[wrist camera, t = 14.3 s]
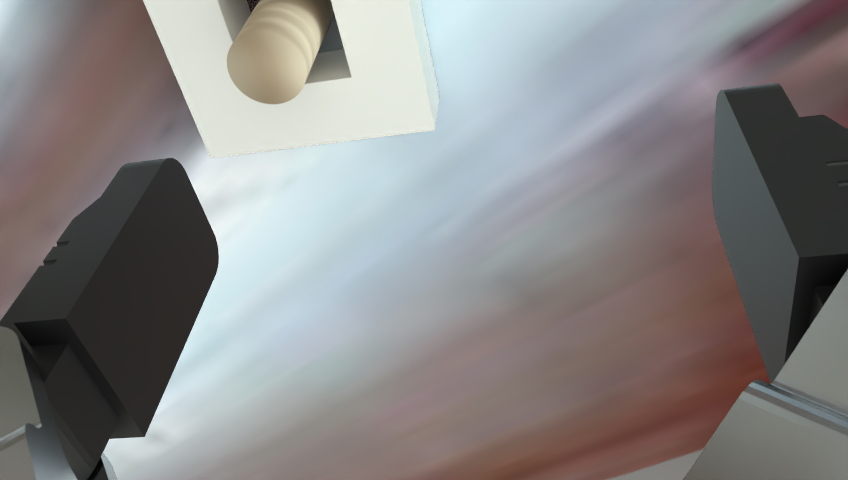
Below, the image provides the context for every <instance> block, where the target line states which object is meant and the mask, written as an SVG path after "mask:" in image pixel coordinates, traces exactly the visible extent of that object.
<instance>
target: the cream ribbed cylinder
mask: <svg viewBox="0 0 848 480" xmlns="http://www.w3.org/2000/svg"><path fill="white" fill-rule="evenodd" d="M332 15H333V7H332V3H331V0H259V2H258V3H257V5H256V7H255V8H254V10H253V11H252V13H251V15H250V16H249V18H248V19H247V21H246V23H245V24H244V26H243V27H242V29H241V31H240V32H239V34H238V35H237V37H236V39H235V40H234V42H233V43H232V45H231V47H230V49H229V51H228V54H227V69H228V73H229V75H230V78H231V80H232V81H233V83H234V84H235V86H236V87H237V88H238V89H239V90H240V91H241V92H242V93H243V94H244V95H246V96H247V97H249V98H251V99H253V100H255V101H257V102H260V103H264V104H281V103H285V102H288V101H290V100H292V99H293V98H295V97H296V96H297V95H298V94H299V93H300V91H301V90H302V88H303V86H304V84H305V81H306V79H307V77H308V74H309V72H310V70H311V67H312V65H313V62H314V60H315V58H316V55H317V53H318V50H319V48H320V46H321V43H322V41H323V39H324V36H325V34H326V31H327V29H328V27H329V24H330V22H331V19H332Z"/></svg>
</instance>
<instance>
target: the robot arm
mask: <svg viewBox="0 0 848 480" xmlns="http://www.w3.org/2000/svg"><path fill="white" fill-rule="evenodd" d="M712 196H713V207H714V214H715V219H716V224H717V227H718V231H719V233H720V236H721V239H722V242H723V245H724V248H725V251H726V254H727V257H728V260H729V263H730V266H731V269H732V271H733V274H734V277H735V280H736V283H737V286H738V289H739V292H740V295H741V298H742V301H743V304H744V307H745V309H746V312H747V315H748V318H749V321H750V324H751V327H752V330H753V333H754V336H755V339H756V342H757V345H758V347H759V350H760V353H761V356H762V359H763V362H764V365H765V368H766V371H767V374H768V377H769V380H770V383H771V384H768V383H766V382H763V381H761V380H755V381H754V382H752V383H751V384H750V385H749V386H748V387H747V388H746V389H745V390H744V391H743V393H742V394H741V395H740V397H739V398H738V399H737V401H736V402H735V404H734V405H733V407H732V408H731V410H730V411H729V413H728V414H727V416H726V417H725V418H724V420H723V421H722V423H721V424H720V426H719V427H718V429H717V430H716V432H715V433H714V435H713V436H712V438H711V439H710V440H709V442H708V443H707V445H706V446H705V448H704V449H703V451H702V452H701V454H700V455H699V457H698V458H697V459H696V461H695V463H694V464H693V465H692V467H691V468H690V470H689V471H688V473H687V474H686V476H685V477H684V479H683V480H848V129H846V128H845V127H843V126H841V125H840V124H838V123H836V122H835V121H833V120H831V119H830V118H828V117H827V116H825V115H816V116H807V117H799V116H798V114H797V113H796V111H795V109H794V107H793V106H792V104H791V102H790V100H789V99H788V97H787V95H786V94H785V92H784V90H783V88H782V87H781V85H779V84H777V83H775V84H767V85H759V86H751V87H743V88H735V89H727V90H721V91H719V93H718V96H717V101H716V114H715V135H714V157H713V178H712ZM56 243H57V247H53V248H52V249H51V251H50V252H49V254H48V255H47V256H46V258H45V259H44V261H43V262H44V266H39V268H38V269H37V271H36V272H35V273H34V275H33V276H32V278H31V279H30V280H29V282H28V283H27V285H26V286H25V287H24V289H23V290H22V292H21V293H20V294H19V296H18V297H17V299H16V300H15V301H14V303H13V304H12V306H11V307H10V308H9V310H8V311H7V313H6V314H5V315H4V317H3V318H2V320H1V321H0V480H117V478H116V475H115V472H114V469H113V466H112V465H111V463H110V461H109V460H108V458H107V457H106V456H105V454H104V453H103V451H104V449H105V447H106V445H107V443H108V440H109V439H113V438H131V437H145V435H146V432H147V430H148V428H149V425H150V423H151V421H152V419H153V416H154V414H155V412H156V409H157V407H158V405H159V403H160V400H161V398H162V396H163V394H164V391H165V389H166V387H167V384H168V382H169V380H170V378H171V375H172V373H173V371H174V368H175V366H176V364H177V362H178V359H179V357H180V355H181V353H182V350H183V348H184V346H185V343H186V341H187V339H188V337H189V334H190V332H191V330H192V327H193V325H194V323H195V321H196V318H197V316H198V314H199V311H200V309H201V307H202V305H203V302H204V300H205V298H206V296H207V293H208V291H209V289H210V286H211V284H212V282H213V280H214V277H215V275H216V272H217V268H218V259H219V256H218V246H217V241H216V238H215V235H214V233H213V230H212V228H211V226H210V224H209V222H208V219H207V217H206V215H205V213H204V211H203V208H202V206H201V204H200V202H199V200H198V198H197V195H196V193H195V191H194V189H193V187H192V184H191V182H190V180H189V178H188V176H187V174H186V171H185V170H184V168H183V166H182V165H181V164H180V163H179V162H178V161H177V160H176V159H173V158H167V159H159V160H151V161H143V162H135V163H128V164H125V165H123V166H122V167H121V168H120V170H119V171H118V173H117V174H116V176H115V177H114V178H113V180H112V181H111V183H110V184H109V186H108V187H107V189H106V190H105V191H104V193H103V194H102V196H101V197H100V198H99V199H97V200H96V201H95V202H94V203H92V204H91V205H90V206H89V207H88V208H86V209H85V210H84V211H83V212H81V213H80V214H79V215H78V216H77V217H75V218H74V219H73V220H72V221H71V223H70V224H69V226H68V227H67V228H66V230H65V231H64V233H63V234H62V235H61V237H60V238H59V240H58V241H57V242H56Z"/></svg>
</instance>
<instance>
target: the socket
mask: <svg viewBox="0 0 848 480" xmlns="http://www.w3.org/2000/svg"><path fill="white" fill-rule="evenodd" d="M143 1H144V4H145V6H146V8H147V11H148V13H149V15H150V18H151V20H152V22H153V25H154V27H155V29H156V32H157V34H158V36H159V39H160V41H161V43H162V46H163V48H164V50H165V53H166V55H167V57H168V60H169V62H170V65H171V67H172V69H173V72H174V74H175V76H176V79H177V81H178V83H179V86H180V88H181V90H182V93H183V95H184V97H185V100H186V102H187V104H188V107H189V109H190V111H191V114H192V116H193V118H194V121H195V123H196V126H197V128H198V130H199V133H200V135H201V137H202V140H203V142H204V144H205V147H206V149H207V151H208V154H209V156H210V158H218V157H226V156H234V155H241V154H249V153H257V152H265V151H273V150H281V149H289V148H297V147H305V146H313V145H321V144H329V143H337V142H345V141H353V140H361V139H369V138H377V137H385V136H393V135H401V134H409V133H417V132H425V131H433V130H435V128H436V120H437V112H438V105H439V97H440V96H439V91H438V86H437V81H436V76H435V71H434V66H433V61H432V56H431V51H430V46H429V41H428V36H427V31H426V26H425V21H424V16H423V11H422V6H421V1H420V0H331V3H332V7H333V10H334V14H335V18H336V21H337V25H338V29H339V32H340V36H341V40H342V43H343V47H344V49H340V50H333V51H326V52H320V53H317V55H316V58H315V60H314V62H313V65H312V67H311V70H310V72H309V74H308V77H307V79H306V81H305V84H304V86H303V88H302V90H301V91H300V93H299V94H298V95H297V96H296V97H295V98H293V99H292V100H290V101H288V102H285V103H281V104H264V103H260V102H257V101H255V100H253V99H251V98H249V97H247V96H246V95H244V94H243V93H242V92H241V91H240V90H239V89H238V88H237V87H236V86H235V84H234V83H233V81H232V80H231V78H230V75H229V73H228V69H227V54H228V51H229V49H230V47H231V45H232V43H233V42H234V40H235V39H236V37H237V35H238V34H239V32H240V31H241V29H242V27H243V26H244V24H245V23H246V21H247V19H248V18H249V16H250V15H251V11H250V8H249V5H248V2H247V0H143Z"/></svg>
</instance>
